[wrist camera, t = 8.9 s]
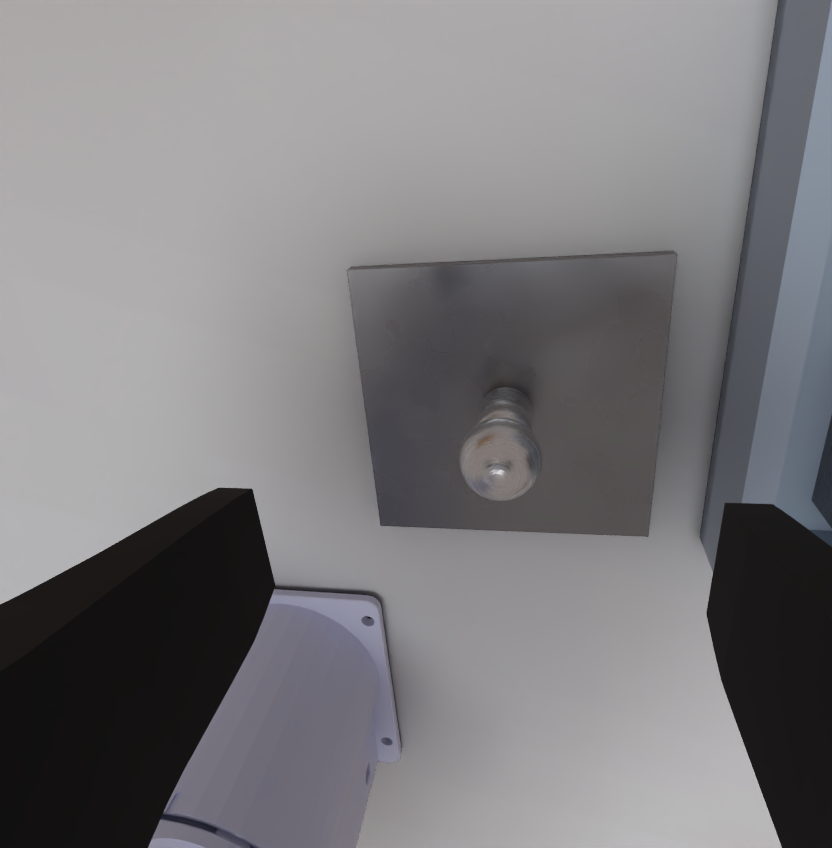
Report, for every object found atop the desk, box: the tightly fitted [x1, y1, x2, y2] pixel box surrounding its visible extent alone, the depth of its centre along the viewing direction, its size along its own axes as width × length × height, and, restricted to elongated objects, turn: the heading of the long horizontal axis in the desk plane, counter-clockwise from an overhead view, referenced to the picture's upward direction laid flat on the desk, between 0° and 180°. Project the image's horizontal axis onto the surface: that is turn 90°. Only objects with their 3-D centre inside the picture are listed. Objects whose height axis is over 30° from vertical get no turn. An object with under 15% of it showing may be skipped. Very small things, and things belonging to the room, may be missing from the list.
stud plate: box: [347, 251, 677, 537], centre depth 17 cm, size 9×9×5 cm
